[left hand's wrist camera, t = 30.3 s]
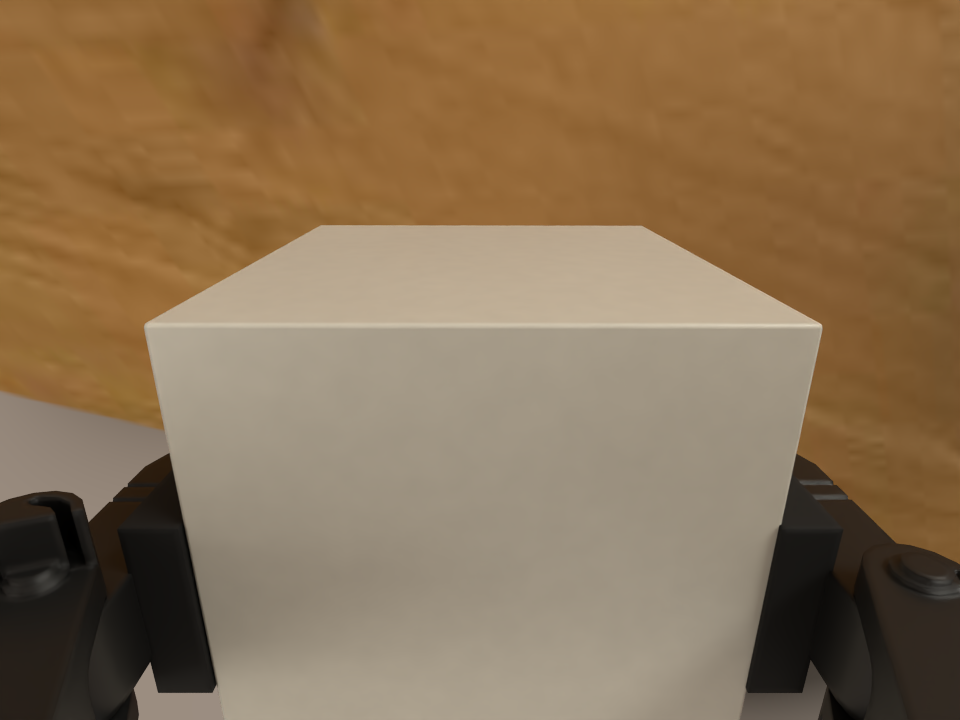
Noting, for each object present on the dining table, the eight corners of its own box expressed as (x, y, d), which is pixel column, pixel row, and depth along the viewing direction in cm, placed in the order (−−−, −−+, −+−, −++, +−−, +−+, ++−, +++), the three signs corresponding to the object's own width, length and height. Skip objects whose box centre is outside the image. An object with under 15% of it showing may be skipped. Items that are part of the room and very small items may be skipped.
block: (346, 521, 17) (242, 821, 9) (319, 224, 14) (140, 324, 6) (615, 522, 17) (720, 820, 9) (643, 225, 14) (826, 324, 6)
